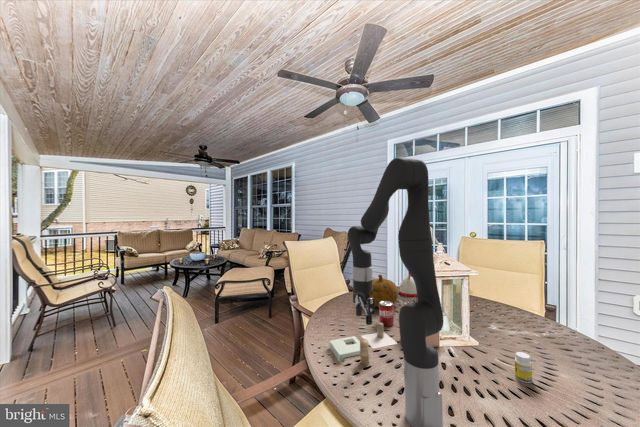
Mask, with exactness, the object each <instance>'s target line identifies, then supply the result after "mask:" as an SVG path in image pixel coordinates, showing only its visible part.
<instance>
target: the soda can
mask: <svg viewBox="0 0 640 427" xmlns="http://www.w3.org/2000/svg"><path fill="white" fill-rule="evenodd" d="M394 308H395V307H394V305H393V303H392V302H389V301H381V302H380V303H379V307H378V322H381V323H383V328H384V327H385V328H390V327H394V326H395V317H394V316H395V314H394V313H395V312H394V310H395V309H394Z"/></svg>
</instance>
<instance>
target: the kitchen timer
mask: <svg viewBox="0 0 640 427" xmlns="http://www.w3.org/2000/svg"><path fill="white" fill-rule="evenodd" d="M398 292H399V294H400V295H402V296H405V297H417V290H416V285H415V282H414V280H413V278H412V276H411V274H410V273H409V272H408V275H407V276H405V277H404V278H403V280H402V281H401V282H400V284H399V289H398Z"/></svg>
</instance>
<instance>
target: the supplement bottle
mask: <svg viewBox="0 0 640 427" xmlns="http://www.w3.org/2000/svg"><path fill="white" fill-rule="evenodd" d="M514 377H515V379H517V380H518V381H519V382H522V383H525V384H531V383H532V382H533V363H532V362H531V356H530V355H529V354H528V353H525V352H522V351H517V352H515V358H514Z"/></svg>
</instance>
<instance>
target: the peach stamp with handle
mask: <svg viewBox="0 0 640 427" xmlns="http://www.w3.org/2000/svg"><path fill="white" fill-rule="evenodd" d="M426 344H428V345H430V346H432V347H433V348H435V347H440V331H439V332H438V333H436V334H433V335H430V336H427V337H426Z"/></svg>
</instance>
